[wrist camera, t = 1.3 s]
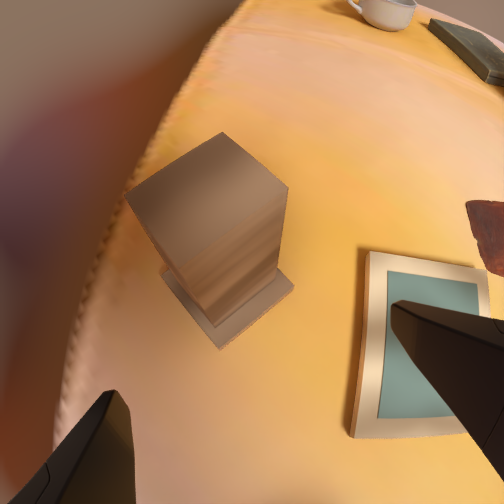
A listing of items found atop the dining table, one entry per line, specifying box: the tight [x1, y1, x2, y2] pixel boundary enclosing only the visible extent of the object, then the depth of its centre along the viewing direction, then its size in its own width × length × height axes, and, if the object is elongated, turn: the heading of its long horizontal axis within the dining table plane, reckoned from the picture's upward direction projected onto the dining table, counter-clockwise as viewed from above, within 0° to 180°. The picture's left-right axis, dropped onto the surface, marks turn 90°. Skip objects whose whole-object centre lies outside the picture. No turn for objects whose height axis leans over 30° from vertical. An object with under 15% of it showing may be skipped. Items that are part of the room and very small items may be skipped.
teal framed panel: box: [349, 251, 491, 439], centre depth 21 cm, size 14×12×1 cm
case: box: [428, 18, 504, 87], centre depth 42 cm, size 18×4×20 cm
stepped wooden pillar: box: [124, 132, 294, 350], centre depth 18 cm, size 7×7×12 cm
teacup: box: [346, 0, 417, 32], centre depth 41 cm, size 14×11×8 cm
